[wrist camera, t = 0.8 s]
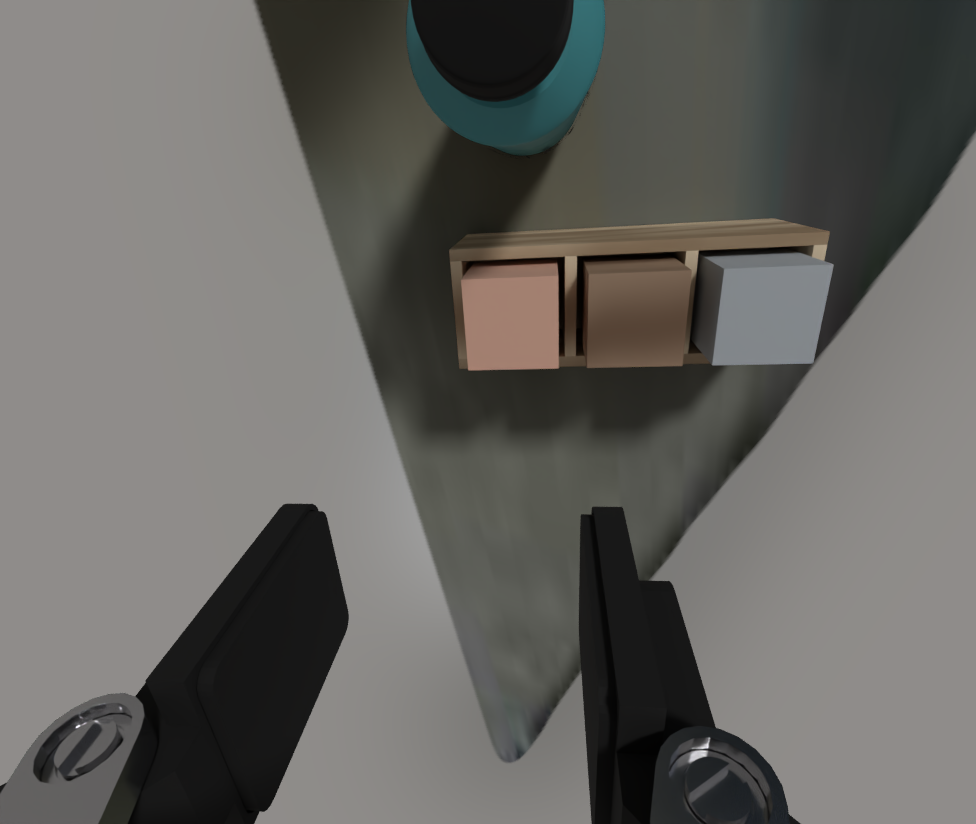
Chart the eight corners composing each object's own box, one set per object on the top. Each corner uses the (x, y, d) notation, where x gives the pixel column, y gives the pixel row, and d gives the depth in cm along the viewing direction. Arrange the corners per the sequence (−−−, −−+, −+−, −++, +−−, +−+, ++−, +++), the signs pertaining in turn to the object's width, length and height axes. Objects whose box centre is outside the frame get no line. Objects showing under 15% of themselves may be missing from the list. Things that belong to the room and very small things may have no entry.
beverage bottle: (546, 179, 32) (544, 198, 14) (448, 123, 31) (314, 65, 13) (605, 66, 29) (697, -92, 11) (500, 1, 29) (419, -281, 11)
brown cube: (582, 257, 29) (588, 274, 24) (669, 253, 28) (691, 270, 24) (581, 338, 31) (586, 368, 26) (662, 336, 30) (682, 366, 26)
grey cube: (696, 252, 28) (724, 268, 24) (787, 248, 28) (833, 264, 23) (687, 335, 30) (712, 365, 26) (772, 333, 30) (812, 363, 25)
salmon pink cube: (474, 262, 30) (460, 279, 25) (556, 258, 29) (558, 275, 25) (479, 341, 32) (468, 370, 27) (557, 339, 31) (558, 368, 26)
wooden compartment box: (467, 234, 34) (449, 249, 28) (773, 218, 32) (829, 231, 25) (474, 333, 37) (459, 368, 30) (756, 325, 34) (803, 361, 28)
